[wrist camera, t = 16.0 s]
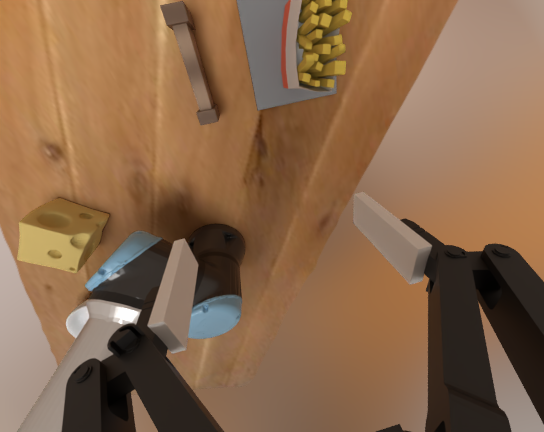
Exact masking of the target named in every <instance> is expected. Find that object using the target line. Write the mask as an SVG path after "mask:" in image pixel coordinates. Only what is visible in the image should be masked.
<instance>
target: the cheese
mask: <svg viewBox="0 0 544 432" xmlns="http://www.w3.org/2000/svg"><path fill="white" fill-rule="evenodd" d="M108 218H109V214H107V213H104V212H100V211H96V210H93V209H90V208H87V207H84V206H81V205H78V204H75V203H73V202H70V201H67V200H64V199H62V198H57V199H55V200H53V201H50V202H48V203H46V204H44V205H42V206H40V207H38V208H36V209H34V210H33V211H32V212H30V213H29V214H28V215H26V216H25V217H24V218H23V219H22V220H21V221H20V222H19V230H20V241H19V251H18V257H17V260H20V261H24V262H28V263H33V264H38V265H43V266H48V267H52V268H56V269H60V270H64V271H68V272H72V273H77V272H78V271H79V270H80V269H81V267H82V266H83V265H84V264H85V262H86V261H87V259H88V258H89V257H90V256H91V255H92V253H93V252H94V251H95V249H96V248H97V246H98V245H99V243H100V239H101V236H102V230H103V228H104V226H105V225H106V222H107V220H108Z"/></svg>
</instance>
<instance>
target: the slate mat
mask: <svg viewBox="0 0 544 432" xmlns="http://www.w3.org/2000/svg"><path fill="white" fill-rule="evenodd" d="M288 1H289V0H237V5H238V10H239V15H240V20H241V26H242V31H243V36H244V41H245V47H246V52H247V57H248V62H249V67H250V73H251V78H252V83H253V88H254V94H255V99H256V104H257V109H258V110H262V109H267V108H271V107H276V106H280V105H285V104H290V103H294V102H299V101H303V100H308V99H313V98H317V97H322V96H326V95H331V94H336V76H334V78H333V80H335V82H334V88H332V92H316V91H311V90H305V89H287V88H283V80H282V73H281V42H282V25H283V18H284V10H285V5H286V4H287V2H288Z"/></svg>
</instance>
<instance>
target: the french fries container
mask: <svg viewBox="0 0 544 432" xmlns="http://www.w3.org/2000/svg"><path fill="white" fill-rule="evenodd" d="M347 2H348V0H289V1H288V2H287V4H286V5H285V10H284V18H283V25H282V42H281V73H282V80H283V88H287V89H305V90H311V91H316V92H332V88H334V82H335V80H333V78H334V76H337V75H344V74H345V69H346V61H336V57H337V56H339V55H341V54H343V53H344V52H345V44H342V35H339V30H340V27H341V26H343V25H345V24H347V23H348V22H350V18H351V15H352V12H350V11H348V10H346V9H347ZM343 10H344V11H343ZM340 44H341V45H340Z"/></svg>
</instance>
